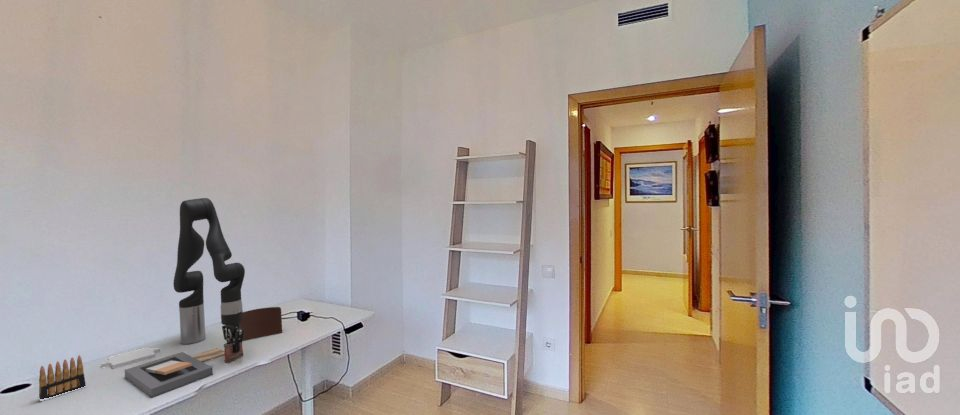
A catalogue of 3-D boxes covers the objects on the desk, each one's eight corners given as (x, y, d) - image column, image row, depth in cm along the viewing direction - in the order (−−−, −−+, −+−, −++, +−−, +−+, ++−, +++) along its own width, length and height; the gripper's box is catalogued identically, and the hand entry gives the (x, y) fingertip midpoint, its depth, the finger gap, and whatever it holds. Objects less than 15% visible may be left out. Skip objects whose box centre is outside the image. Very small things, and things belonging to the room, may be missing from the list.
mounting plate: (156, 348, 165) (155, 344, 165) (163, 355, 158) (162, 351, 157) (99, 363, 151) (99, 359, 151) (103, 372, 143) (103, 367, 143)
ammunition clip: (83, 385, 132) (81, 353, 132) (85, 387, 132) (83, 354, 131) (39, 401, 123) (36, 366, 123) (40, 402, 122) (38, 367, 122)
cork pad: (190, 357, 154) (190, 356, 154) (217, 349, 162) (217, 347, 162) (200, 363, 149) (200, 361, 149) (227, 353, 157) (227, 352, 157)
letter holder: (282, 333, 180) (281, 305, 180) (234, 343, 169) (233, 313, 169) (280, 327, 189) (279, 300, 188) (234, 336, 178) (233, 308, 177)
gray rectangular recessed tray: (124, 377, 138) (124, 369, 138) (182, 358, 153) (182, 351, 153) (151, 397, 123) (151, 389, 123) (212, 374, 138) (212, 367, 138)
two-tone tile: (145, 371, 140) (145, 368, 140) (171, 362, 147) (171, 360, 147) (165, 374, 129) (164, 372, 129) (191, 365, 136) (191, 362, 136)
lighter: (229, 363, 148) (227, 339, 147) (222, 362, 148) (220, 339, 148) (245, 354, 156) (244, 332, 155) (238, 354, 156) (237, 331, 156)
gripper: (213, 311, 152) (215, 351, 152) (230, 316, 144) (232, 358, 145) (233, 306, 158) (235, 344, 159) (250, 311, 151) (252, 351, 151)
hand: (233, 351), depth 152 cm, fingers closed on lighter, 4 cm apart
